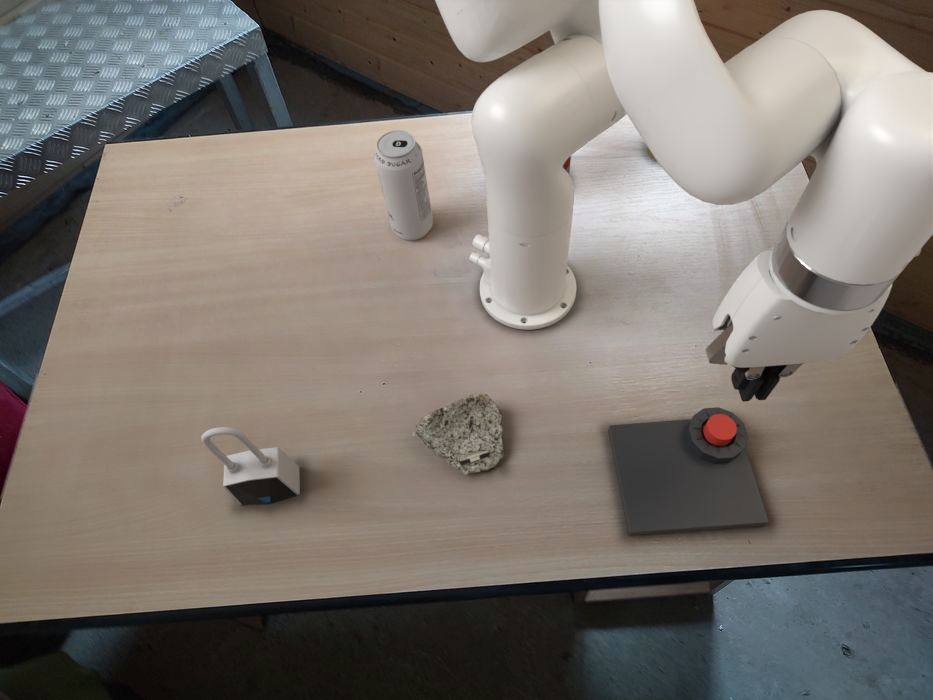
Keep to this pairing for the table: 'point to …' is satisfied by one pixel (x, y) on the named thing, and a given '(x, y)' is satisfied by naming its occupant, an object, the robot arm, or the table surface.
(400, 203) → the energy drink can
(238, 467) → the padlock
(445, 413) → the rock sample
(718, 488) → the grey flat block
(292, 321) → the table surface
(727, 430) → the tare button
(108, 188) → the table surface
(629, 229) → the table surface
